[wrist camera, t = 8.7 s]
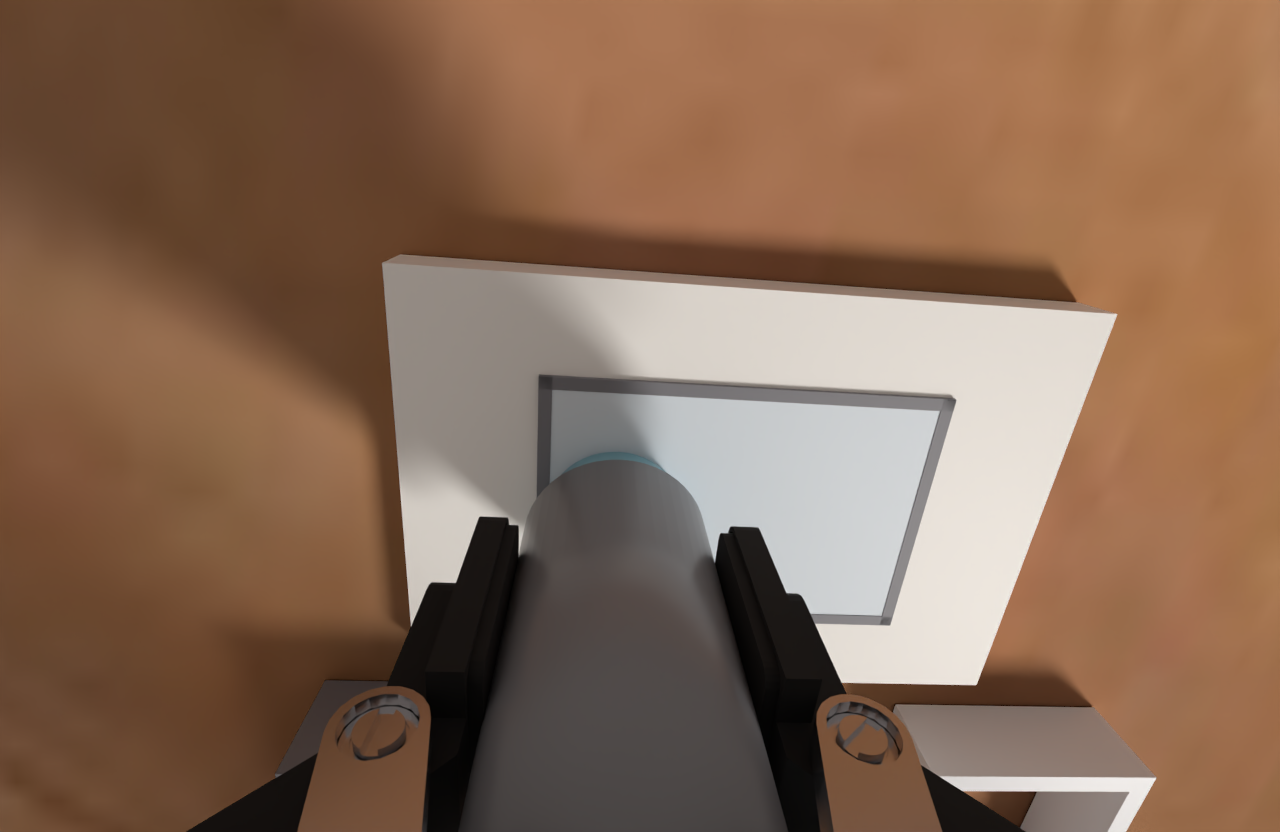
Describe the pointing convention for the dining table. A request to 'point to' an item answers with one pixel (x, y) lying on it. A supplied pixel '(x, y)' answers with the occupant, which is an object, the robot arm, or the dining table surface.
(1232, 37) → the dining table surface
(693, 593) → the marker
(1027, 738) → the marker holder
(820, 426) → the picture board
